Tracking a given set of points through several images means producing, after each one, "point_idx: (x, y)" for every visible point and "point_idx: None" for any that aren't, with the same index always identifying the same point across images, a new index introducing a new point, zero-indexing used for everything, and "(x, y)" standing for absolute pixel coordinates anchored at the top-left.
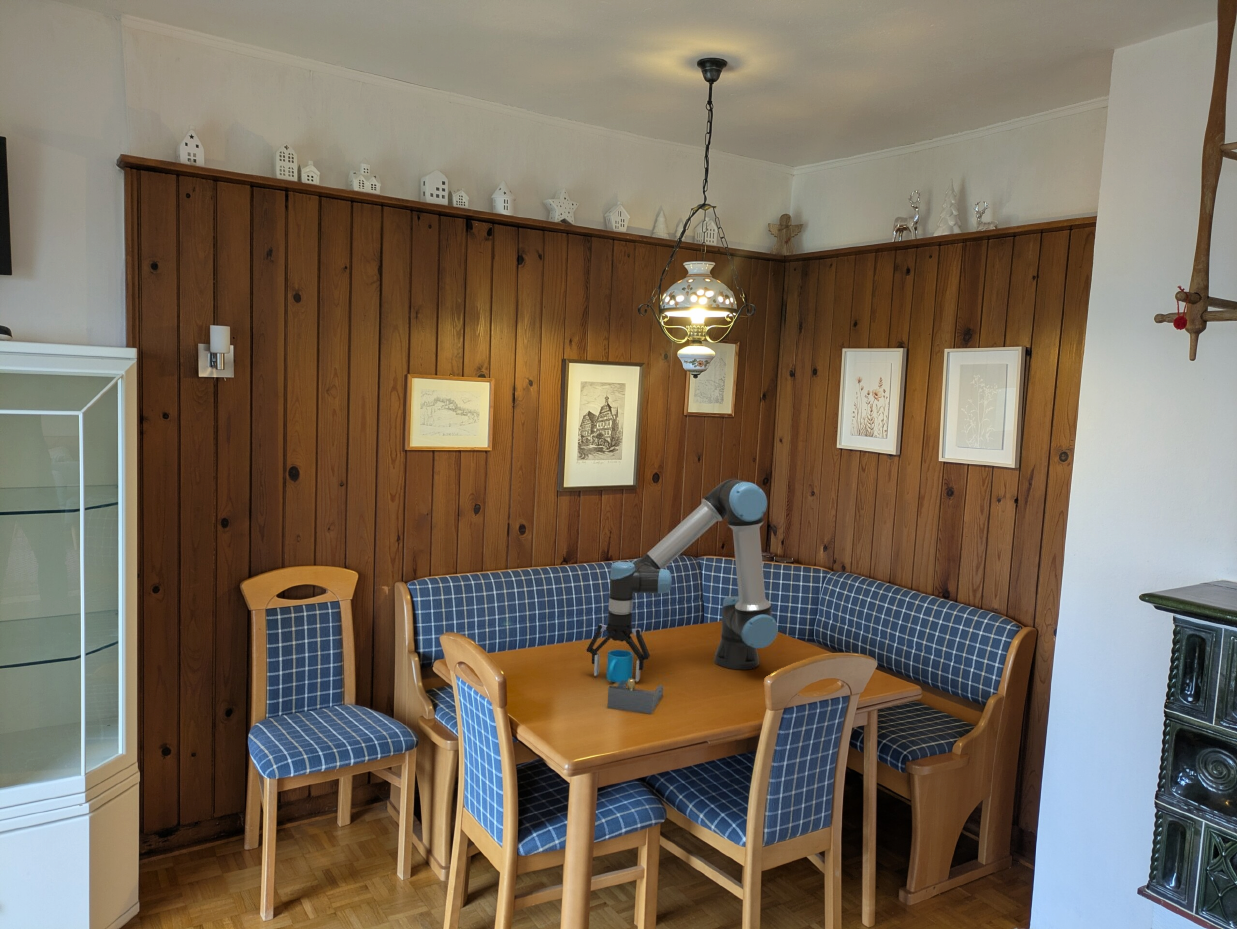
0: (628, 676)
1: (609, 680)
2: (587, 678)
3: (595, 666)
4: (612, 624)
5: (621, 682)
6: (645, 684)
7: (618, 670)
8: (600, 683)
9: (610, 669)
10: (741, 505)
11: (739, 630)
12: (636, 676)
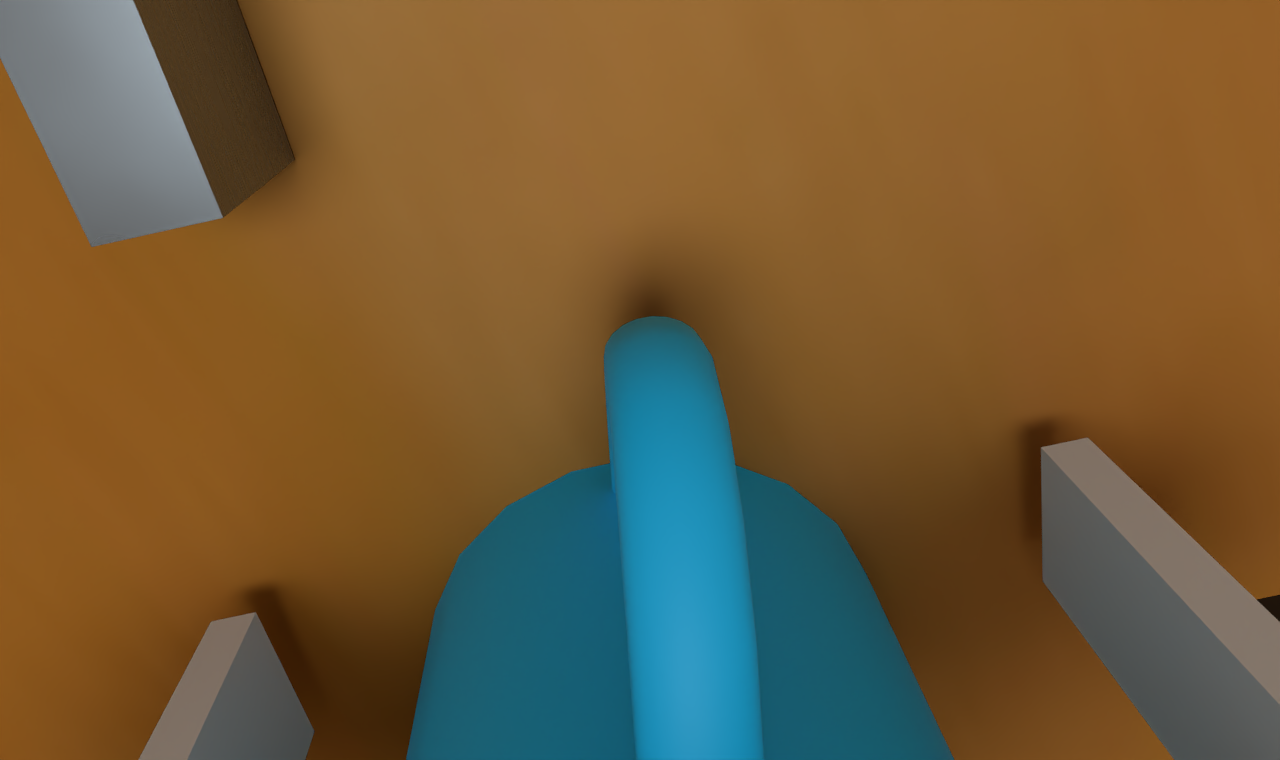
0: (427, 666)
1: (757, 475)
2: (1170, 350)
3: (1176, 554)
4: None
5: (91, 16)
6: (127, 653)
7: (579, 630)
8: (847, 248)
9: (667, 404)
10: None
11: None
12: (208, 682)
